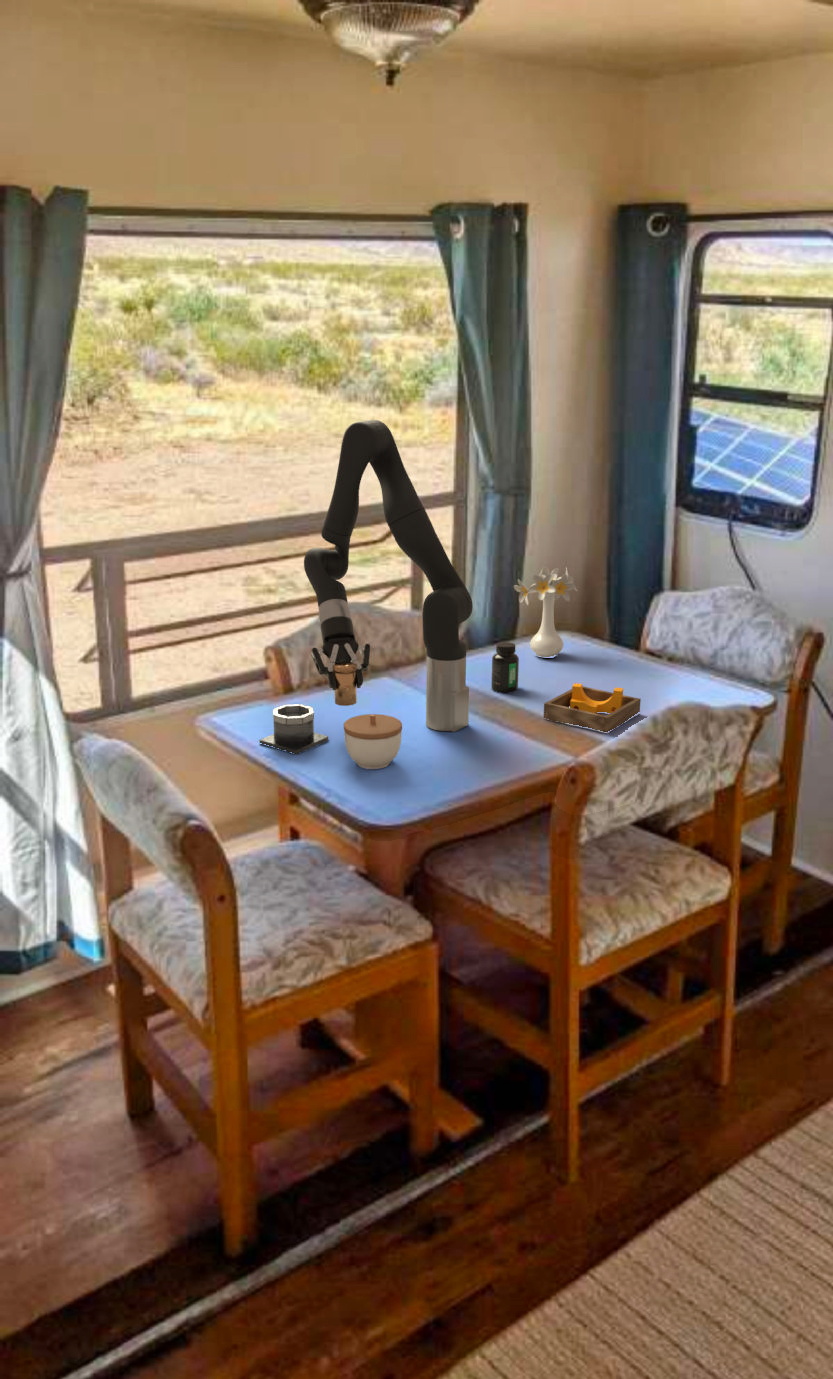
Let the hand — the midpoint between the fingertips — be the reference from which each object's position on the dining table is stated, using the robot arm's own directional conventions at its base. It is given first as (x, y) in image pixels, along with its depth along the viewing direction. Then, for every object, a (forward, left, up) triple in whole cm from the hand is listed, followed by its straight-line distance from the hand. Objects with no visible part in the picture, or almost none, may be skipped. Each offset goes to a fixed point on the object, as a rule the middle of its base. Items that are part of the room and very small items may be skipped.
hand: (347, 687), depth 273 cm
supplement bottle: (-10, -51, -12) cm, 54 cm away
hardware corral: (-38, -46, -12) cm, 61 cm away
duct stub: (+8, +10, -12) cm, 17 cm away
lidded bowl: (-14, +9, -12) cm, 21 cm away
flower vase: (-4, -82, -12) cm, 83 cm away
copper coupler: (+1, -1, -4) cm, 5 cm away
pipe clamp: (-38, -49, -12) cm, 63 cm away
